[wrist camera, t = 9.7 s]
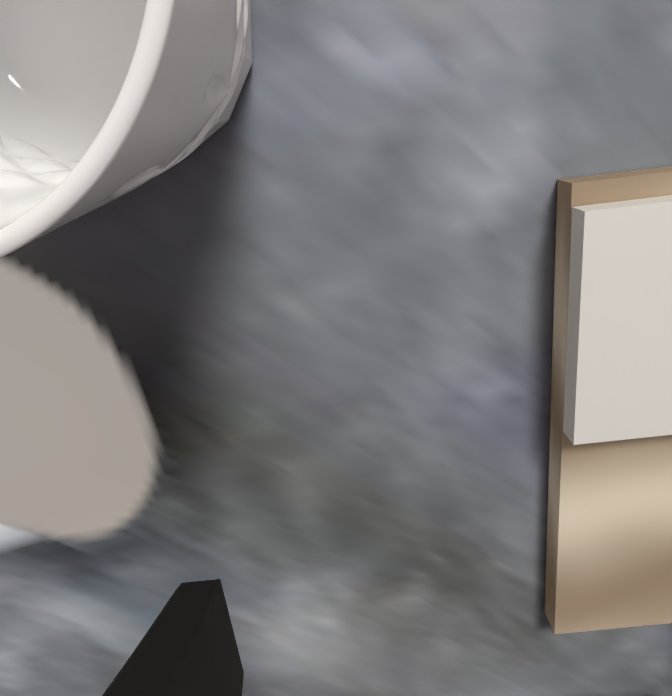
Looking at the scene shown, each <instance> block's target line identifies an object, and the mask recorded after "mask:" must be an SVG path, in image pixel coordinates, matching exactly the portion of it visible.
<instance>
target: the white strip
mask: <svg viewBox="0 0 672 696" xmlns="http://www.w3.org/2000/svg"><path fill="white" fill-rule="evenodd" d="M563 432H564V433H565V434H566V436H567V437H568V438H569V440H570V441H571V442H572V444H573V445H579V444H588V443H598V442H607V441H617V440H626V439H636V438H645V437H655V436H664V435H672V195H668V196H659V197H651V198H643V199H634V200H626V201H617V202H609V203H601V204H592V205H584V206H576V207H572V218H571V243H570V268H569V294H568V319H567V344H566V369H565V394H564V420H563Z"/></svg>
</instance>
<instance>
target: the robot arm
mask: <svg viewBox="0 0 672 696" xmlns="http://www.w3.org/2000/svg"><path fill="white" fill-rule="evenodd" d="M243 673H244V672H243V668H242V664H241V660H240V656H239V652H238V648H237V644H236V640H235V636H234V632H233V628H232V624H231V620H230V616H229V612H228V608H227V605H226V601H225V597H224V593H223V589H222V585H221V581H220V579H217V580H207V581H197V582H187V583H182V584H181V585H180V586H179V587H178V588H177V589H176V591H175V592H174V594H173V595H172V596H171V598H170V599H169V601H168V602H167V604H166V605H165V607H164V608H163V610H162V611H161V613H160V614H159V616H158V617H157V619H156V620H155V621H154V623H153V624H152V626H151V627H150V629H149V630H148V632H147V633H146V635H145V636H144V638H143V639H142V640H141V642H140V643H139V645H138V646H137V648H136V649H135V651H134V652H133V653H132V655H131V656H130V658H129V659H128V661H127V662H126V663H125V665H124V666H123V668H122V669H121V671H120V672H119V673H118V675H117V676H116V677H115V679H114V680H113V681H112V683H111V684H110V686H109V687H108V688H107V690H106V691H105V692H104V694H103V695H102V696H242V686H243Z"/></svg>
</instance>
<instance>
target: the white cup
mask: <svg viewBox="0 0 672 696" xmlns="http://www.w3.org/2000/svg"><path fill="white" fill-rule="evenodd" d="M251 65H252V26H251V0H0V258H1V257H4V256H6V255H7V254H9V253H11V252H13V251H15V250H17V249H19V248H21V247H23V246H25V245H27V244H28V243H30V242H32V241H34V240H36V239H38V238H40V237H42V236H44V235H46V234H48V233H50V232H51V231H53V230H55V229H57V228H59V227H61V226H63V225H65V224H67V223H69V222H71V221H73V220H75V219H77V218H79V217H81V216H83V215H85V214H87V213H89V212H91V211H93V210H95V209H97V208H99V207H101V206H103V205H105V204H107V203H109V202H111V201H113V200H115V199H117V198H119V197H121V196H123V195H125V194H127V193H129V192H131V191H133V190H135V189H136V188H138V187H140V186H142V185H143V184H145V183H146V182H148V181H149V180H151V179H152V178H154V177H156V176H158V175H160V174H161V173H163V172H165V171H166V170H168V169H170V168H171V167H173V166H174V165H176V164H177V163H179V162H180V161H182V160H183V159H184V158H186V157H187V156H188V155H190V154H191V153H192V152H193V151H194V150H195V149H196V148H198V147H199V146H200V145H201V144H202V143H203V142H205V141H206V140H207V139H208V138H209V137H210V136H211V135H213V134H214V133H215V132H216V131H217V130H218V129H220V128H221V127H222V126H223V125H224V124H225V123H227V122H228V121H229V119H230V117H231V114H232V112H233V109H234V107H235V104H236V102H237V100H238V97H239V95H240V92H241V90H242V87H243V85H244V82H245V80H246V78H247V75H248V73H249V70H250V68H251Z"/></svg>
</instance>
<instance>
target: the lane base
mask: <svg viewBox="0 0 672 696" xmlns="http://www.w3.org/2000/svg"><path fill="white" fill-rule="evenodd" d="M668 195H672V166H665V167H657V168H649V169H640V170H632V171H624V172H616V173H607V174H599V175H591V176H583V177H574V178H566V179H558V181H557V214H556V248H555V282H554V315H553V349H552V383H551V416H550V450H549V484H548V517H547V551H546V585H545V614H546V616H547V618H548V621H549V623H550V625H551V627H552V630H553V632H554V634H561V633H572V632H583V631H593V630H604V629H614V628H625V627H635V626H646V625H657V624H667V623H672V435H664V436H655V437H645V438H636V439H626V440H617V441H607V442H598V443H588V444H579V445H573V444H572V442H571V441H570V440H569V438H568V437H567V436H566V434H565V433H564V432H563V420H564V394H565V369H566V344H567V319H568V294H569V268H570V243H571V218H572V207H576V206H584V205H592V204H601V203H609V202H617V201H626V200H634V199H643V198H651V197H659V196H668Z"/></svg>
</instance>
